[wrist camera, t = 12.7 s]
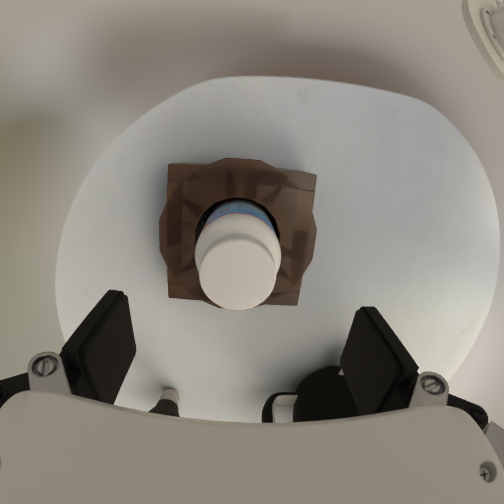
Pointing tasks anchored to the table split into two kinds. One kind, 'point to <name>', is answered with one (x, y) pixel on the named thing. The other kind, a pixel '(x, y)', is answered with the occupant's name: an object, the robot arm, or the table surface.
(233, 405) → the table surface
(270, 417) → the mug
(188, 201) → the hole plate
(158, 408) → the light bulb
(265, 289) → the pill bottle
